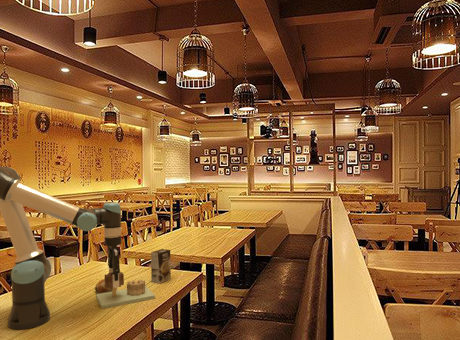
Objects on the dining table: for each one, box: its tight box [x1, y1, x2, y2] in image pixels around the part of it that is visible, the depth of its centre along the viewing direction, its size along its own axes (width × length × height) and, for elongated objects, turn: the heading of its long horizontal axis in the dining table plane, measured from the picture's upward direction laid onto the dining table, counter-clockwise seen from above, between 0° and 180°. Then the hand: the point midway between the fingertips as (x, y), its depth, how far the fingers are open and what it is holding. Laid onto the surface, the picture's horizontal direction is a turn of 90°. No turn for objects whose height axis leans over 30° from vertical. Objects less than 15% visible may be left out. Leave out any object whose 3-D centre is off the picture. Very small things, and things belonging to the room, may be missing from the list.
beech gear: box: [126, 279, 146, 296], centre depth 180 cm, size 8×8×5 cm
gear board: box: [95, 279, 156, 310], centre depth 178 cm, size 24×16×8 cm, turn 118°
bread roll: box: [94, 278, 118, 294], centre depth 188 cm, size 10×10×8 cm
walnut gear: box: [103, 271, 125, 288], centre depth 175 cm, size 8×8×5 cm
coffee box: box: [150, 248, 172, 284], centre depth 203 cm, size 9×6×16 cm
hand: (114, 284), depth 175 cm, fingers closed on walnut gear, 8 cm apart
